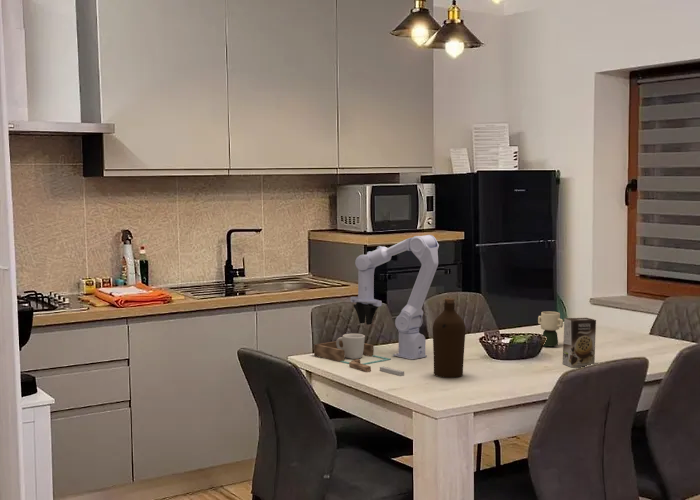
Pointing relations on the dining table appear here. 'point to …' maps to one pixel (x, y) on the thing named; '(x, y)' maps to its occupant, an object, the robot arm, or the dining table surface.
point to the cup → (352, 345)
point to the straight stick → (392, 371)
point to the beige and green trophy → (550, 326)
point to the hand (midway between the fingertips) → (365, 323)
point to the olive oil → (448, 342)
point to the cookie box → (579, 342)
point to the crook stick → (359, 365)
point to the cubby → (337, 350)
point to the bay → (373, 361)
